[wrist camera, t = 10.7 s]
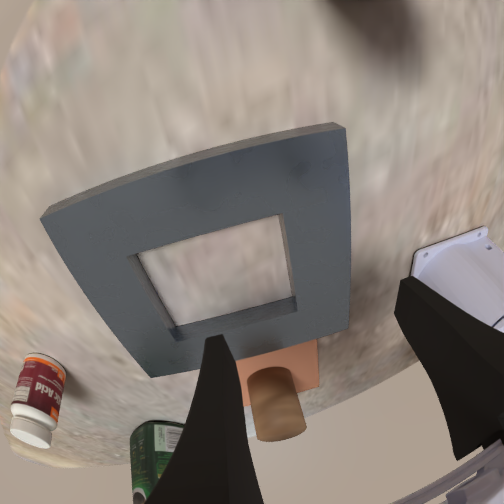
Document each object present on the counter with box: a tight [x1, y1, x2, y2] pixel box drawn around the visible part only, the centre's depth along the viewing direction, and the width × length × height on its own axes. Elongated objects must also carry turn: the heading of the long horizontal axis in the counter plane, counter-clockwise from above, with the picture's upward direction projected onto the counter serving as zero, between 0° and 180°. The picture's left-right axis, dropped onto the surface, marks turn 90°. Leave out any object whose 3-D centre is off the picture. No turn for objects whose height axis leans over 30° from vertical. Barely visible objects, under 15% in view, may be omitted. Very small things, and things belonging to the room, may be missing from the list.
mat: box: [235, 339, 319, 406], centre depth 28 cm, size 10×10×1 cm
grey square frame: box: [40, 122, 351, 378], centre depth 19 cm, size 17×16×2 cm
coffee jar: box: [130, 422, 184, 504], centre depth 26 cm, size 10×8×19 cm
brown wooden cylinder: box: [247, 367, 307, 442], centre depth 25 cm, size 4×4×6 cm
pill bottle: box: [10, 353, 66, 449], centre depth 19 cm, size 5×5×8 cm
